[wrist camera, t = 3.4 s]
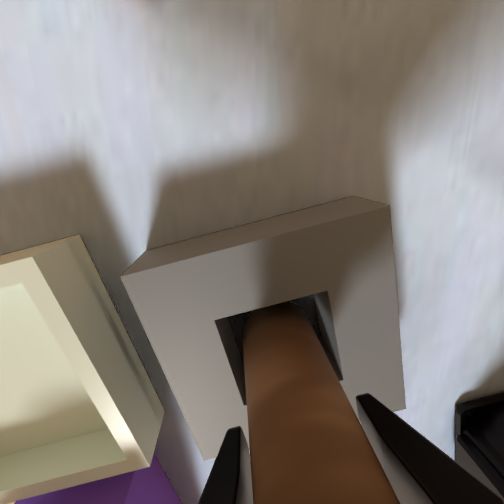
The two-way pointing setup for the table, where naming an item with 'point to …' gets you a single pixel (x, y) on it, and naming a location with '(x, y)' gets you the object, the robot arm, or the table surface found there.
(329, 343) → the holder
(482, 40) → the table surface
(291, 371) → the peg
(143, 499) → the bracket
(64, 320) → the tray
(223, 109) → the table surface
